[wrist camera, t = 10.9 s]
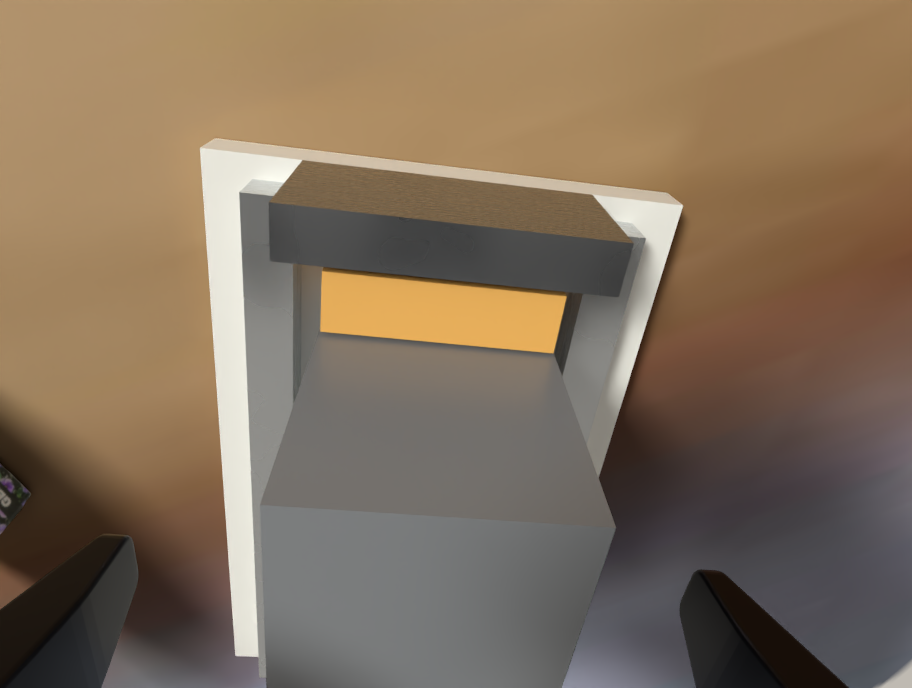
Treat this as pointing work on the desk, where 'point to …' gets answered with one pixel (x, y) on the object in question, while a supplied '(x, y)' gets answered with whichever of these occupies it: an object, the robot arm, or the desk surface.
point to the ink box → (10, 497)
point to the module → (429, 520)
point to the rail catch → (440, 310)
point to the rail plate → (413, 254)
